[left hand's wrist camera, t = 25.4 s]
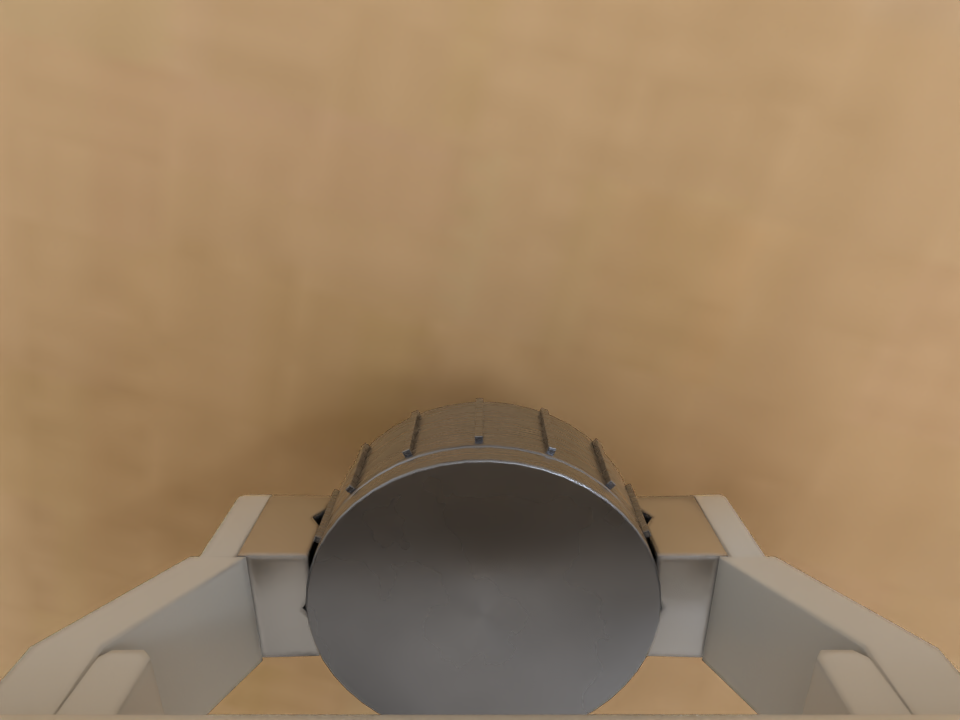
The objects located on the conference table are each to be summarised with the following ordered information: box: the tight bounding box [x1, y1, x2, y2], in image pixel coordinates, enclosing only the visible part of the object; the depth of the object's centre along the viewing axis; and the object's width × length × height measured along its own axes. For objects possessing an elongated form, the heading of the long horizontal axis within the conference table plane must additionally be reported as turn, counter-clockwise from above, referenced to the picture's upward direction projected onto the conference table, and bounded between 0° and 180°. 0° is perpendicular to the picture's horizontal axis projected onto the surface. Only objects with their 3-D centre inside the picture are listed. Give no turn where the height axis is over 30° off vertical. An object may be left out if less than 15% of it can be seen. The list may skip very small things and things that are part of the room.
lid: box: [306, 398, 661, 715], centre depth 9 cm, size 5×5×2 cm
